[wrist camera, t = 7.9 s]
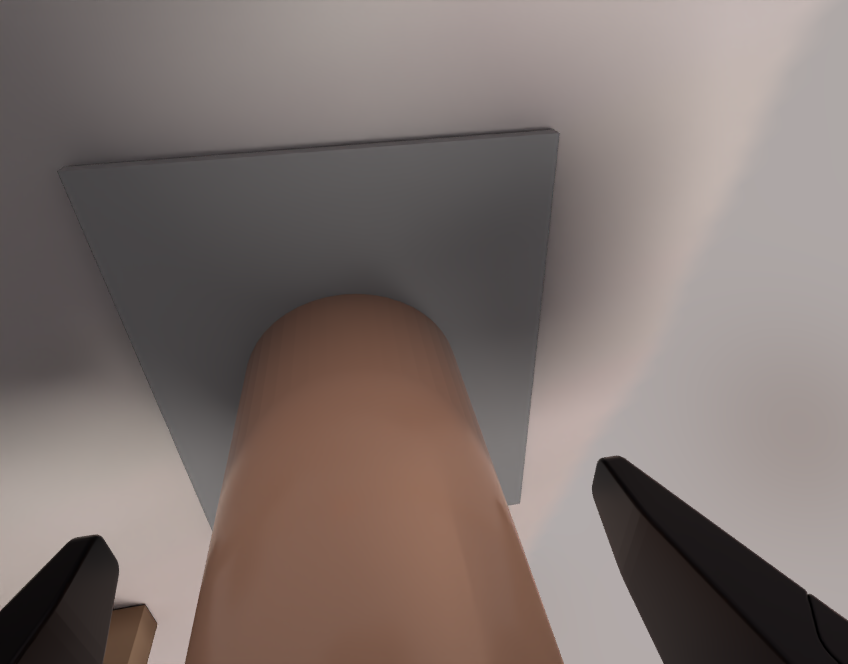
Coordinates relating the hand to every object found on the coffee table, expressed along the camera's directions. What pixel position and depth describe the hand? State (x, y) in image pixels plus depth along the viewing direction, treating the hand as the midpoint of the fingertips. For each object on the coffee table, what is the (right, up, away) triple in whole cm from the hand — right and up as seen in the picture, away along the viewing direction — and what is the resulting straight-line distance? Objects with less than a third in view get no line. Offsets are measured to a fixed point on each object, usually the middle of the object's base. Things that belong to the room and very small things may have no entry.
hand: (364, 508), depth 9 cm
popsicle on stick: (-1, +1, +4) cm, 4 cm away
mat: (-1, +2, +3) cm, 4 cm away
